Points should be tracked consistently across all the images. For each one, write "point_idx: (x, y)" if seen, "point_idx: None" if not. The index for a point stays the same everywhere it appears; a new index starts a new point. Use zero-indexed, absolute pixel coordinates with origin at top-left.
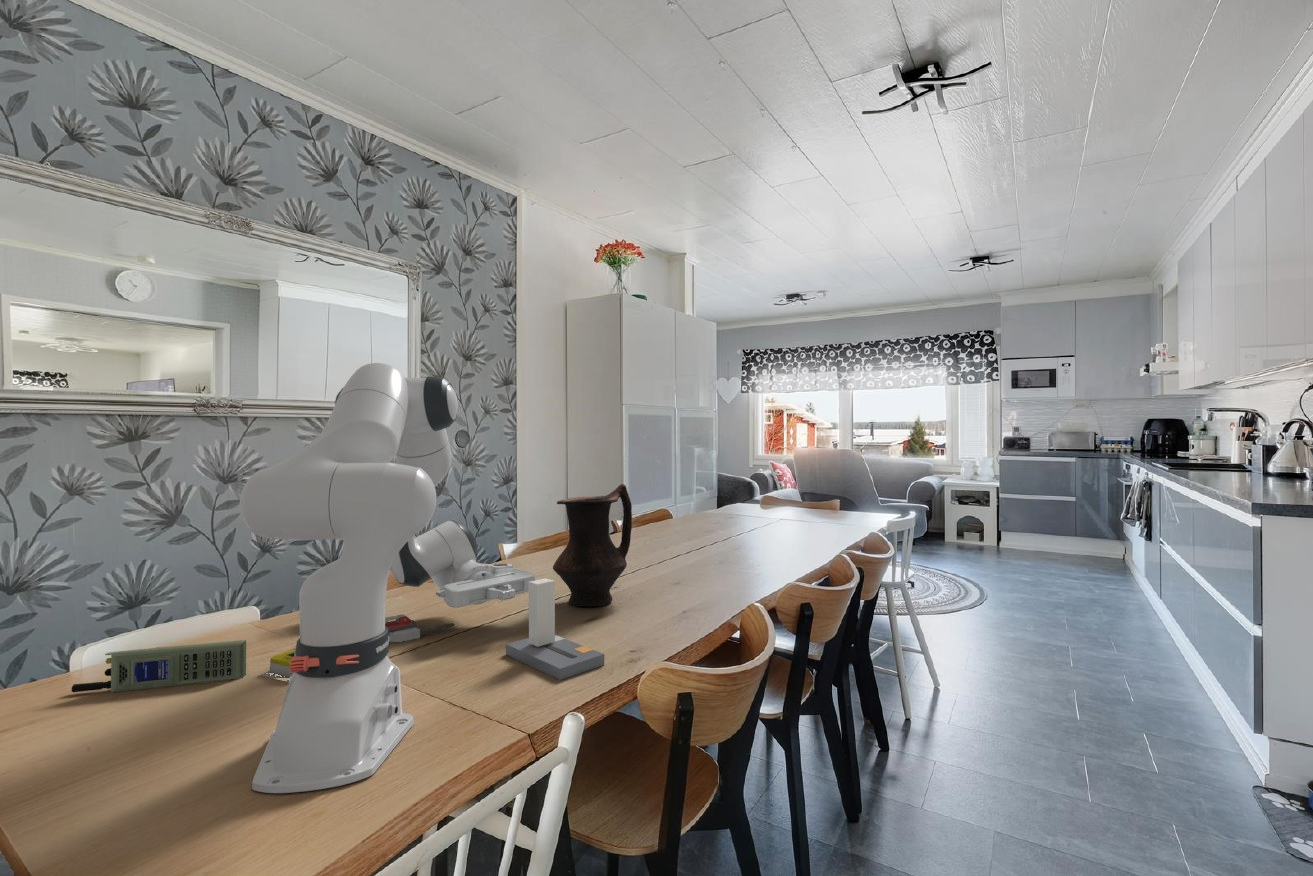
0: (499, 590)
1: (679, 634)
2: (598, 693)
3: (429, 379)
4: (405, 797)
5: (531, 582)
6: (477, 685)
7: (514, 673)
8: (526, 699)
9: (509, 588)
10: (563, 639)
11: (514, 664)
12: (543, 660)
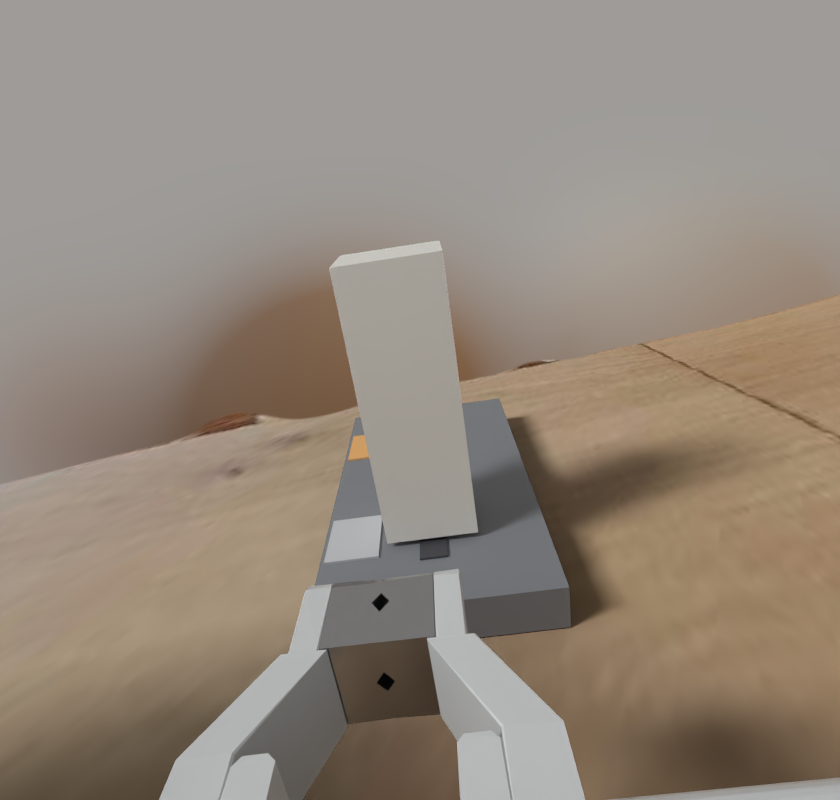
0: (453, 634)
1: (42, 499)
2: (470, 381)
3: None
4: (832, 305)
5: (438, 247)
6: (731, 465)
7: (596, 483)
8: (610, 395)
9: (311, 641)
10: (341, 521)
11: (572, 531)
12: (509, 434)
